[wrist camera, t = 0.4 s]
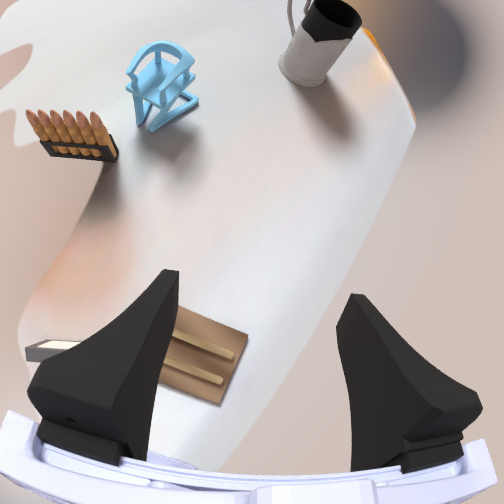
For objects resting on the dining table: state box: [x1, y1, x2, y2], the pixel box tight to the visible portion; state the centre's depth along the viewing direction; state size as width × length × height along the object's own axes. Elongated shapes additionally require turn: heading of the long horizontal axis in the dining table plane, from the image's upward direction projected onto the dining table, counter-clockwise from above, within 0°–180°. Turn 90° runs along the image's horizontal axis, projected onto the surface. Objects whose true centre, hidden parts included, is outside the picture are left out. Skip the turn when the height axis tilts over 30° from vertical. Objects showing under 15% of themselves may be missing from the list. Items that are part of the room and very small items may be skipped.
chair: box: [126, 41, 199, 132], centre depth 36 cm, size 8×8×12 cm
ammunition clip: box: [26, 110, 119, 163], centre depth 33 cm, size 11×2×12 cm, turn 83°
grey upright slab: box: [25, 340, 81, 363], centre depth 32 cm, size 2×9×7 cm, turn 92°
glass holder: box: [278, 0, 362, 87], centre depth 41 cm, size 9×14×15 cm, turn 29°
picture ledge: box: [158, 305, 248, 404], centre depth 38 cm, size 10×14×2 cm
